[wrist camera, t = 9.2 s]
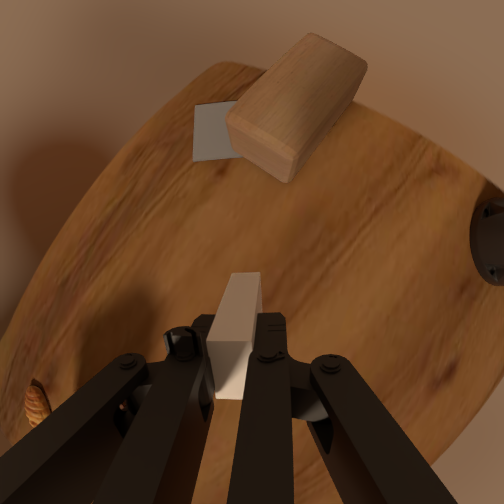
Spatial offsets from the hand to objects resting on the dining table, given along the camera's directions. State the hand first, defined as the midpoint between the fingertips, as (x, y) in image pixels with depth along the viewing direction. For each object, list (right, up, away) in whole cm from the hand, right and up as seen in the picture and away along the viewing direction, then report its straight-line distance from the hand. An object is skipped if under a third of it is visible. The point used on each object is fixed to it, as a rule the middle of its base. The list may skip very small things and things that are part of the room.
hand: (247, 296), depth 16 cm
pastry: (-42, -29, +24) cm, 57 cm away
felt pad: (-3, +21, +25) cm, 33 cm away
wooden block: (+1, +14, +19) cm, 24 cm away
